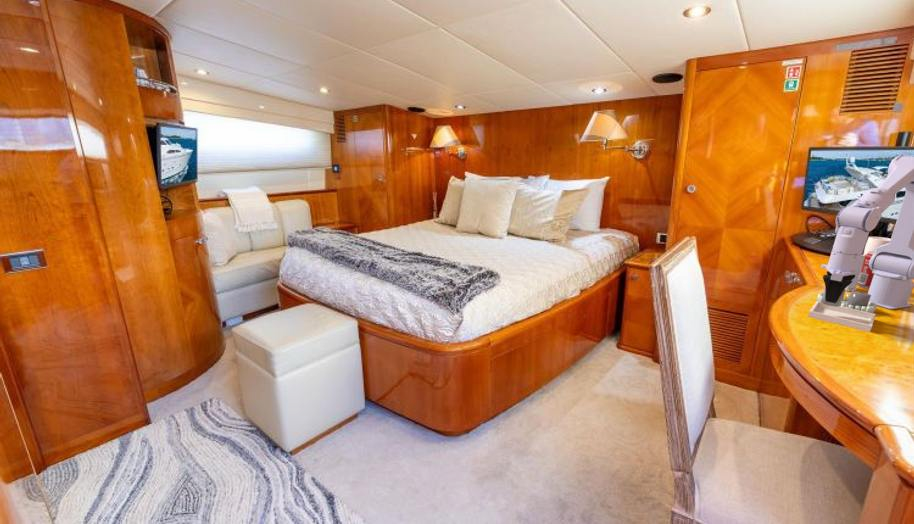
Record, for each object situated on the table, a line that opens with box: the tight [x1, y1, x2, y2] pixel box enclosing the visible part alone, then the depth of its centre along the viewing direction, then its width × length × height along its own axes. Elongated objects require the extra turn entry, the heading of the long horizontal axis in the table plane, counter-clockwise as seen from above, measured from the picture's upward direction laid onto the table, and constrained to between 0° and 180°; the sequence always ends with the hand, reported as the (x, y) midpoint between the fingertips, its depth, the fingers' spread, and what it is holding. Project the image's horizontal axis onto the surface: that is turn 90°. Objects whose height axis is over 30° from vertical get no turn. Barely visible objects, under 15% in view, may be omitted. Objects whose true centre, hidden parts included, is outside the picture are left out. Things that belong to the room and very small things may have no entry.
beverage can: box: [857, 252, 874, 290], centre depth 129 cm, size 6×6×12 cm
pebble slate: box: [821, 289, 847, 307], centre depth 106 cm, size 4×4×4 cm
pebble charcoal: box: [847, 290, 871, 311], centre depth 111 cm, size 4×4×4 cm
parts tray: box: [807, 300, 877, 333], centre depth 105 cm, size 12×12×2 cm
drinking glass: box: [862, 236, 891, 255], centre depth 138 cm, size 7×7×15 cm
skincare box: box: [845, 254, 865, 292], centre depth 129 cm, size 6×4×12 cm
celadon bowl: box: [816, 291, 878, 314], centre depth 114 cm, size 12×12×3 cm
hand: (831, 299), depth 106 cm, fingers closed on pebble slate, 4 cm apart
